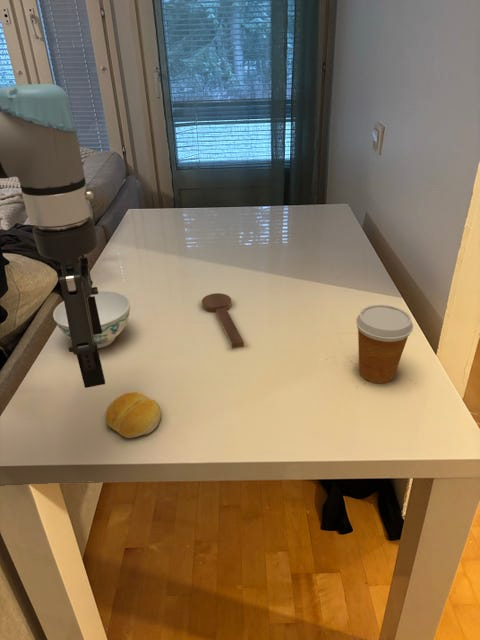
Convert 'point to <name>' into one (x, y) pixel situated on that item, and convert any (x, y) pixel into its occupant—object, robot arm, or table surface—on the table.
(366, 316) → the disposable coffee cup
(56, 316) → the chinaware
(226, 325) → the wooden spoon
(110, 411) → the bread roll
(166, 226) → the table surface
